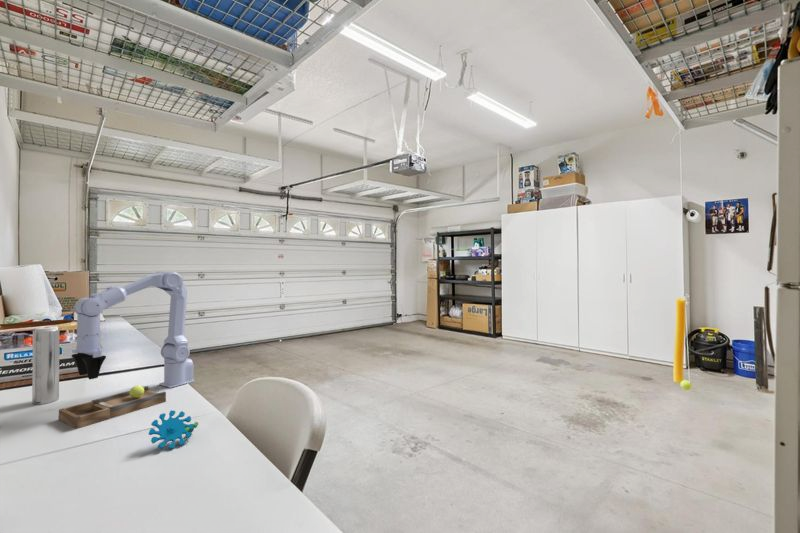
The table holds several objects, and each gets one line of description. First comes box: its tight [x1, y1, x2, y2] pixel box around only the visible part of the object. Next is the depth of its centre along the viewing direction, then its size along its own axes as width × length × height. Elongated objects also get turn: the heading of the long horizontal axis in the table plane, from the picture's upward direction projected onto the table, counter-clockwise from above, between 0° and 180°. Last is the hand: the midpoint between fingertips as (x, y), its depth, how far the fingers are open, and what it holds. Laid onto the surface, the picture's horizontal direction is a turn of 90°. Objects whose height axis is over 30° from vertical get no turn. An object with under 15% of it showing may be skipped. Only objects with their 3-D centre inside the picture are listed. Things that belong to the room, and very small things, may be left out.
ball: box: [129, 385, 144, 398], centre depth 121 cm, size 4×4×4 cm
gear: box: [148, 410, 199, 450], centre depth 95 cm, size 11×6×10 cm
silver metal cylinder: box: [31, 325, 60, 406], centre depth 122 cm, size 6×6×25 cm
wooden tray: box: [58, 385, 167, 430], centre depth 115 cm, size 24×12×3 cm, turn 151°
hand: (88, 376), depth 117 cm, fingers open, 7 cm apart
